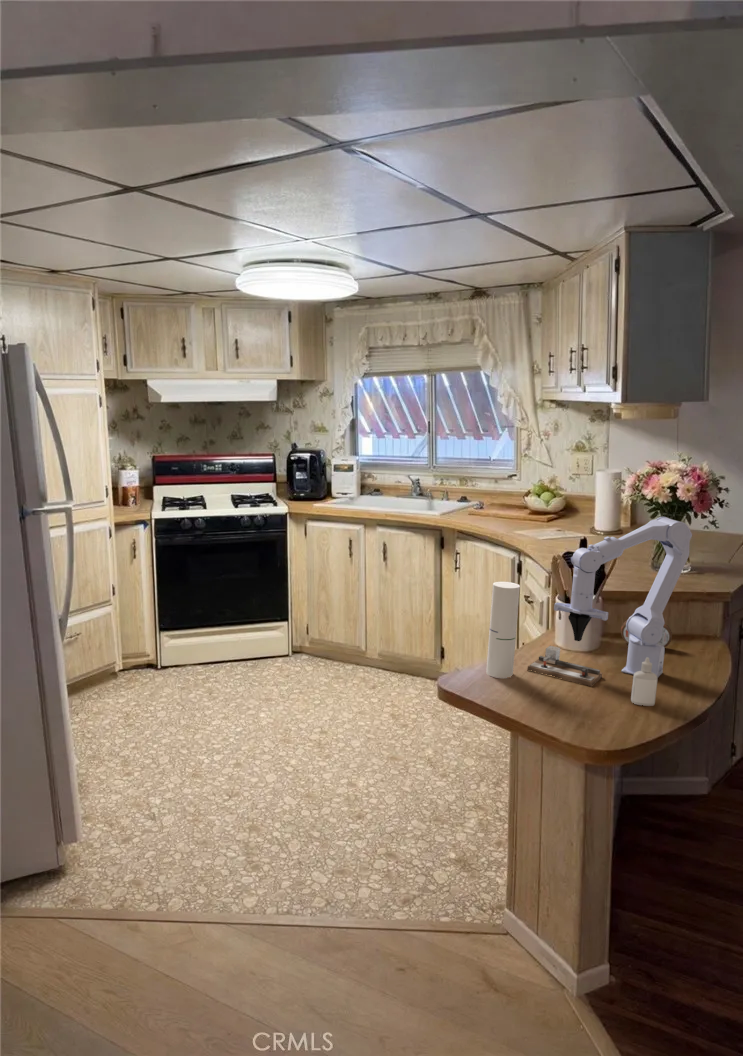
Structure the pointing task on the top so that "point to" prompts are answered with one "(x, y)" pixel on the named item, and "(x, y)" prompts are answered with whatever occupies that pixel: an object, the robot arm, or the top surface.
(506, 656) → the cylindrical container
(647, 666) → the eye dropper bottle
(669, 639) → the tin
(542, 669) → the gauge board
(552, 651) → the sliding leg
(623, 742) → the top surface
